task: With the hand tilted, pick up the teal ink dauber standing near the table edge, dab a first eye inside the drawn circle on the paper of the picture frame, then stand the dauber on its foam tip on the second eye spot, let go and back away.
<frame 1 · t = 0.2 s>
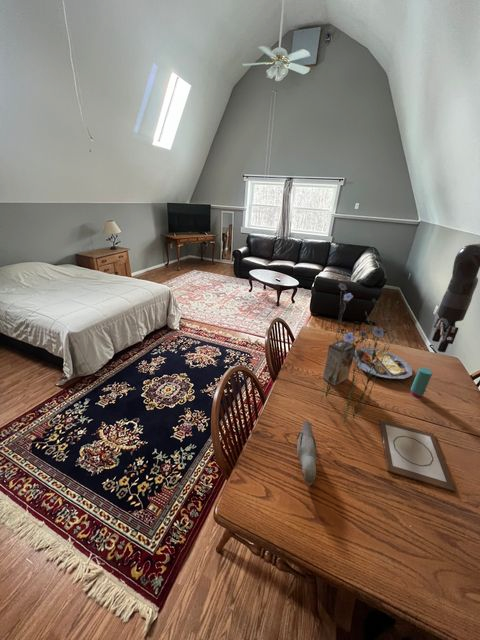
hand: (437, 346, 97), 21 cm above the table, tool pointing down, fingers open, 8 cm apart
decorative bird: (305, 461, 76), on the table
picture frame: (411, 451, 81), on the table
dauber: (416, 394, 105), on the table
wildflower: (339, 410, 95), on the table
coffee box: (335, 378, 112), on the table
food plate: (379, 366, 122), on the table
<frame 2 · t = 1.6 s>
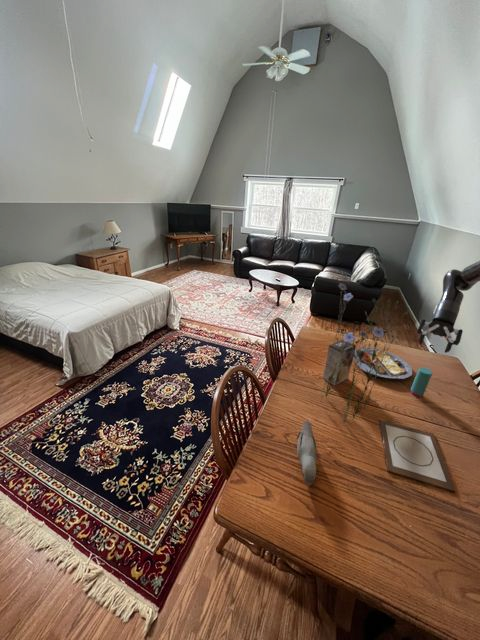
hand: (433, 348, 107), 16 cm above the table, tool tilted 45°, fingers open, 8 cm apart
nothing on the table moved.
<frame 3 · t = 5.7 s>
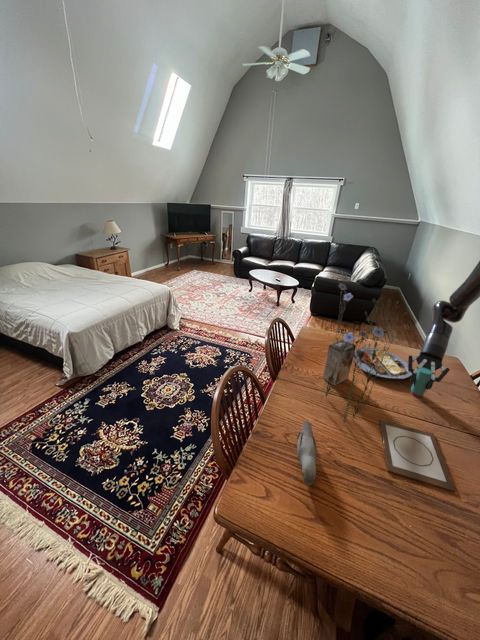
hand: (419, 386, 102), 5 cm above the table, tool tilted 45°, fingers closed on dauber, 4 cm apart
dauber: (416, 394, 105), on the table, touching gripper
everything else where it was.
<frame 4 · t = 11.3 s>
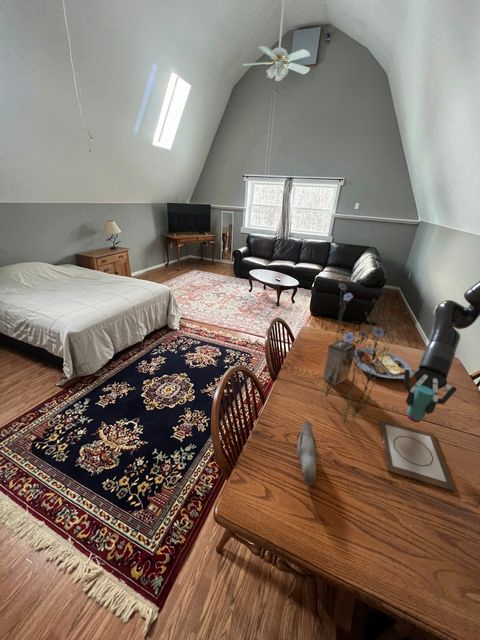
hand: (418, 409, 80), 12 cm above the table, tool tilted 45°, fingers closed on dauber, 4 cm apart
dauber: (413, 418, 84), point 7 cm above the table, touching gripper
everything else where it was.
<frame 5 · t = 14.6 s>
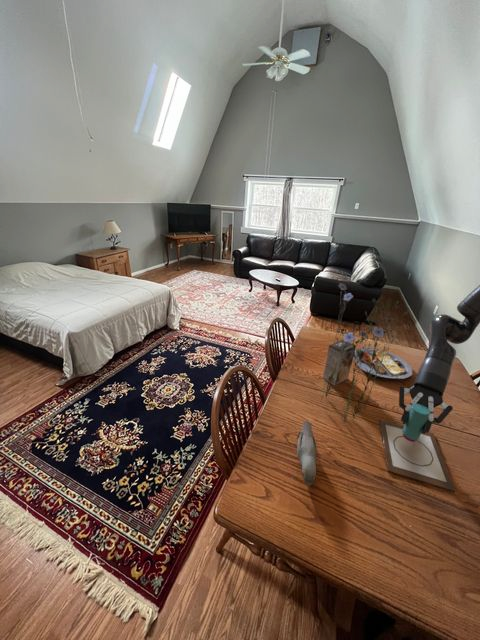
hand: (413, 428, 78), 9 cm above the table, tool tilted 45°, fingers closed on dauber, 4 cm apart
dauber: (409, 436, 81), point 4 cm above the table, touching gripper
everything else where it was.
when the fingers open (6 cm above the table, at t = 17.0 s): dauber stays where it is, resting on picture frame.
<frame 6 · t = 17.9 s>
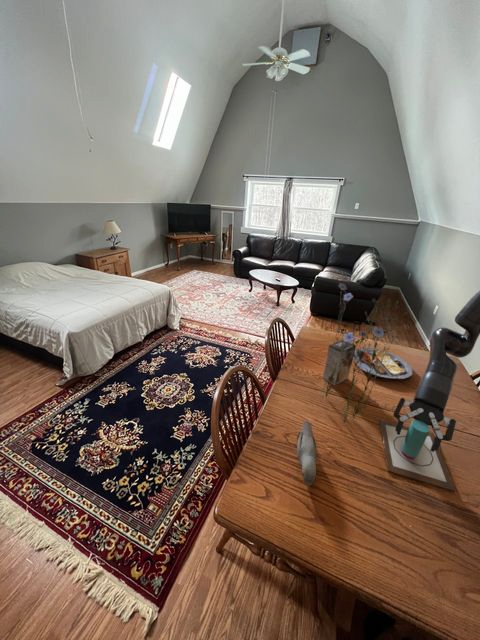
hand: (414, 442, 76), 7 cm above the table, tool tilted 45°, fingers open, 8 cm apart
dauber: (408, 453, 79), point 1 cm above the table, touching picture frame
everything else where it was.
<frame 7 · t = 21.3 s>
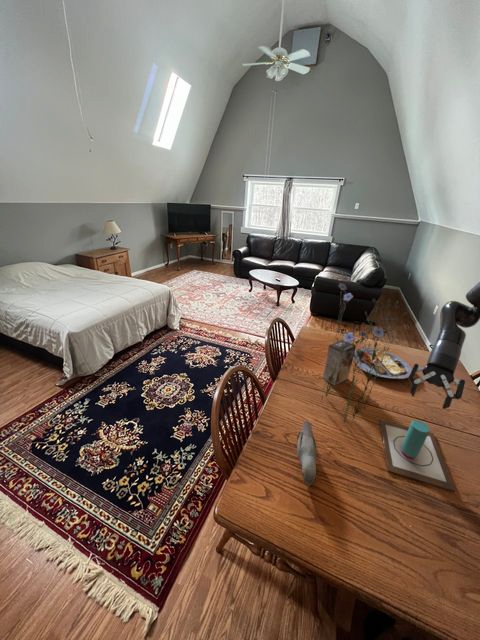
hand: (427, 401, 85), 11 cm above the table, tool tilted 45°, fingers open, 8 cm apart
nothing on the table moved.
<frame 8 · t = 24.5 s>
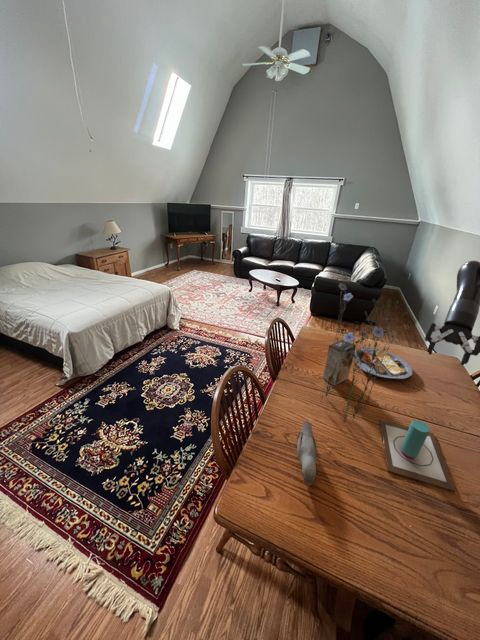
hand: (445, 358, 85), 24 cm above the table, tool tilted 45°, fingers open, 8 cm apart
nothing on the table moved.
at the end: dauber 0.1 cm from the target spot on the picture frame, point 0.7 cm above the picture frame's base; dauber tilted 0°; the gripper is holding nothing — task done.
